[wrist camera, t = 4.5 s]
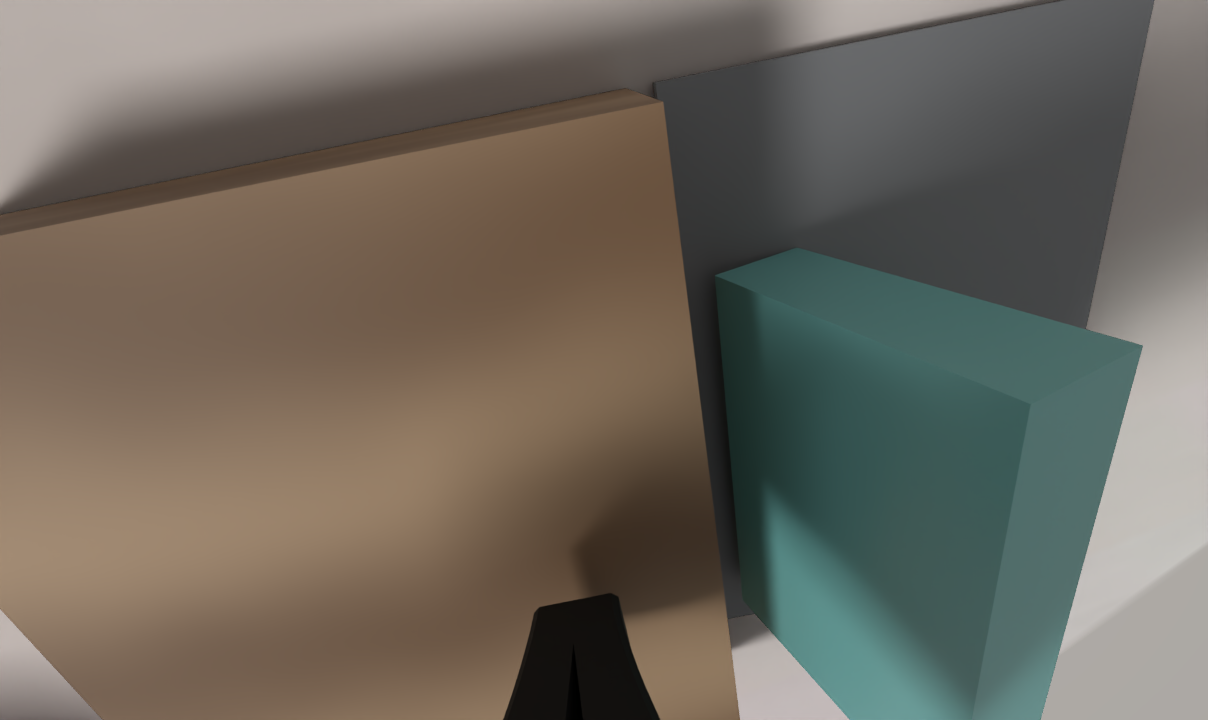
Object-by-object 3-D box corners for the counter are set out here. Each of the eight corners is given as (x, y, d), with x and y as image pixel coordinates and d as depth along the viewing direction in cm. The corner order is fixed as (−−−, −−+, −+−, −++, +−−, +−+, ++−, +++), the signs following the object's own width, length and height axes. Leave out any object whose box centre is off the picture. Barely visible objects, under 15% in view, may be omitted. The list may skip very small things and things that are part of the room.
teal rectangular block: (742, 599, 16) (803, 566, 16) (950, 832, 11) (1026, 771, 11) (714, 275, 12) (796, 247, 12) (1030, 403, 7) (1143, 345, 7)
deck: (710, 659, 18) (750, 806, 15) (323, 734, 18) (268, 898, 15) (625, 88, 11) (663, 101, 7) (-18, 218, 11) (-291, 294, 7)
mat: (1030, 550, 17) (1038, 558, 17) (721, 610, 17) (724, 619, 17) (1142, -17, 11) (1158, -19, 11) (653, 82, 11) (654, 83, 11)
